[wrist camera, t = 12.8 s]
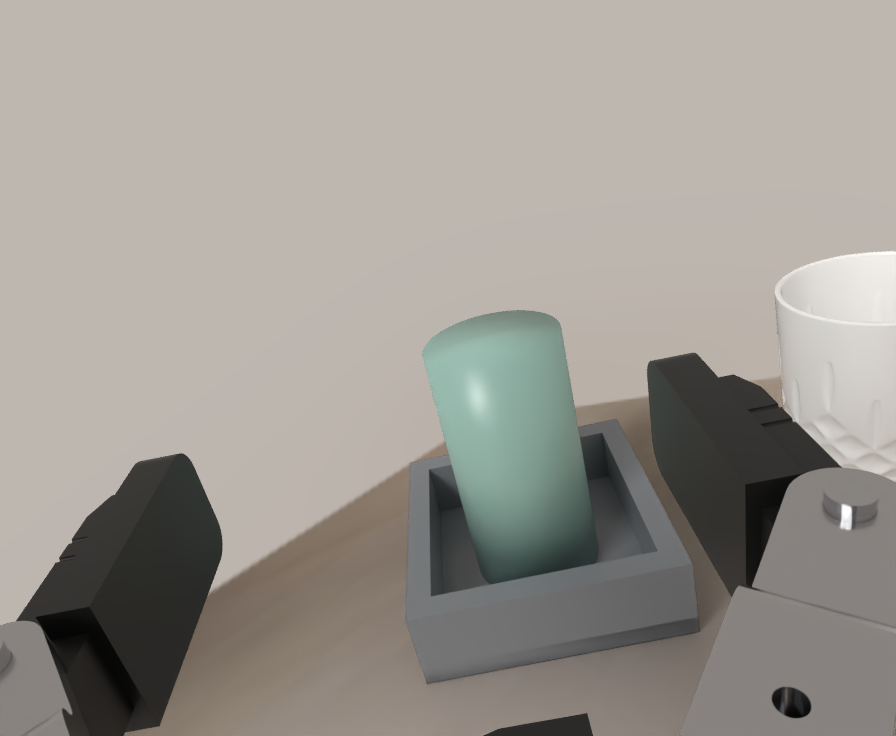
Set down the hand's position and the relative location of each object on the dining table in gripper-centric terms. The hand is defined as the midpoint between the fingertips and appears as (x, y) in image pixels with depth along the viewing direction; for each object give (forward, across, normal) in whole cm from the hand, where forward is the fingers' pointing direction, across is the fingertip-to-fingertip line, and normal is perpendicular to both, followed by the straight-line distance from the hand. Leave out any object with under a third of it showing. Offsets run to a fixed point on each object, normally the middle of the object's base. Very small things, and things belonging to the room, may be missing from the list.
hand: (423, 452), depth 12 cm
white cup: (+15, -18, +16) cm, 29 cm away
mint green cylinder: (+15, -2, +16) cm, 22 cm away
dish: (+15, -2, +17) cm, 22 cm away
